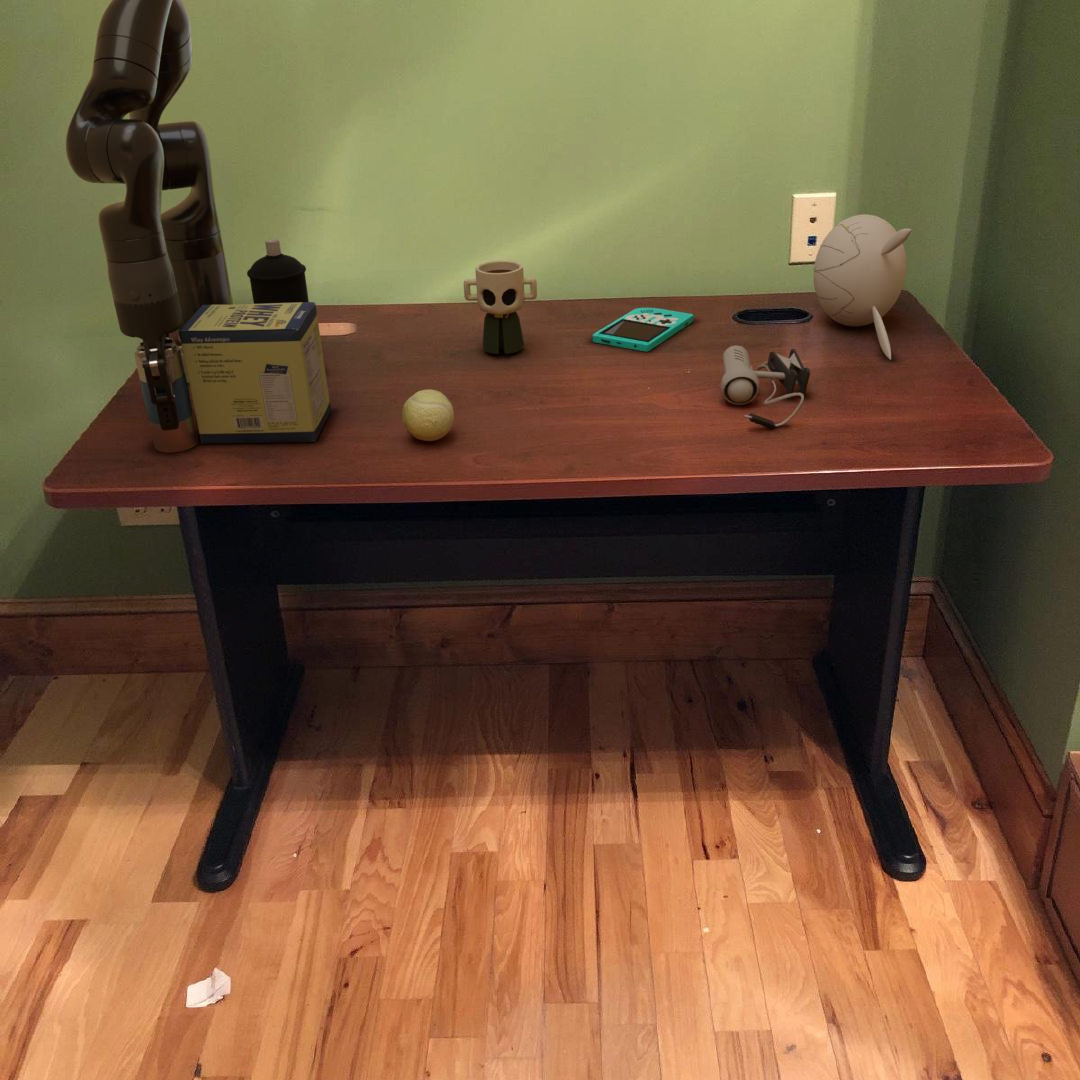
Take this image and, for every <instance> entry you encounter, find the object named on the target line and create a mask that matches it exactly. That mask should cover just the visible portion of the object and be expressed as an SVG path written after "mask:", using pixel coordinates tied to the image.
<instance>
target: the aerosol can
mask: <svg viewBox="0 0 1080 1080" xmlns="http://www.w3.org/2000/svg"><path fill="white" fill-rule="evenodd" d="M280 242H281V241H280V239H278V238H268V239H266V240H264V244H265V251H266V255H265V256H262V257H260V258H259V259H257V260H255V262H253V264H252V265H251V267H250V268H249V269H248V270H247V271H246V276H247V277H248V278H249V283H250V289H251V295H252V301H253V304H269V303H300V302H310V301H309V293H308V286H307V280H306V279H307V278H306V271H307V267H306V265H304V264H303V263H301V261H300V260H298V259H297V258H295V257H294V256H291V255H288V254H283V253H282V249H281V243H280Z"/></svg>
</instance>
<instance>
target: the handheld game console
mask: <svg viewBox="0 0 1080 1080" xmlns="http://www.w3.org/2000/svg"><path fill="white" fill-rule="evenodd" d="M693 322H694V314H693V313H690V312H689V313H688V312H682V311H676V310H669V309H664V308H657V307H637V308H634V309H632V310H631V311H629V312H628V313H626V314H624V315H622V316H621V317H619V318H617V319H616V320H614V321H613V322H611V323H609V324H608V325H606V326H604V327H603V328H601V329H599V330H598V331H596V332H594V333H593V334H592V342H593V343H597V344H601V345H607V346H611V347H618V348H625V349H629V350H634V351H639V352H645V353H647V352H650V351H652V350H654V348H656V347H657V346H659V345H661V344H662V343H663V342H665V341H666V340H669V338H671V337H672V336H674V335H675V334H677V333H678V332H680V331H681V330H683V329H684V328H685V327H688V326H689V325H690V324H692V323H693Z"/></svg>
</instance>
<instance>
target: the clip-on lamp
mask: <svg viewBox="0 0 1080 1080" xmlns="http://www.w3.org/2000/svg"><path fill="white" fill-rule="evenodd" d="M722 366H723V375H722V378H721V381H720V391H721V395H722V396H723V399H724V400H726V401H727V402H728V403H731V404H732V405H737V406H740V405H741V406H742V405H746V404H748V403H751V402H752V401H754V399H756V397H757V395H758V393H759V391H760V380H759V379H768V380H769V381H770V383H771V385H772V386H773V388H774V389H773V392H772V393H771V395H770V396H769V397H768V398H766V399H765V400H764V402H763V406H769V405H771V404H774V403H776V402H780V401H783V400H785V399H787V400H792V399H793V397H800V401H799V403H798V405H797V406H796V408H795V409H794V411H792V413H791V414H790V415H789V416H788V417H787V418H786V419H784V420H783V421H782V422H779V423H775V422H774V420H771V419H769V418H766V417H763V416H761V415H758V414H755V413H752V412H750V413H749V414H748V415H747V414H744V416H743V418H747V419H749V422H751V423H754V424H755V425H760V426H761V427H765V428H767V429H771V430H773V429H774V428H775V427H776V428H777V427H780V426H783V425H784V424H786V423H788V422H789V421H790V420H791V419H792V418H793V417H794V416H795V415H796V413H797V412H798V411H799V409H800V408H801V406H802V405H803V404H804V400H805V395H806V391H807V387H808V383H809V380H810V376H811V370H810V369H809V367H805V366H804V365H803V362H802V360H801V358H800V356H799V354H798V352H797V350H796V348H791V349H790V351H789V355H788V357H786V356H784V355H782V354H781V355H780V354H778V353H777V352H775V351H770V352H769V356H768V359H767V361H764V362H762V363H761V364H760V365H758V366H757V367H756V368H757V370H754V369H753V365H751V359H750V354H749V352H748V351H747V349H746V348H745V347H744V346H741V345H732V346H729V347H728V348H726V349H725V350H724V352H723V353H722ZM762 369H765V370H762ZM774 380H778V382H779V383H780V384H781V386H782V387H783V388H784V389H785V393H784V395H781V396H778V397H776V398H775V397H774V396H775V395H776V392H777V385H776V383H775V381H774ZM796 384H797V386H798V392H794V391H795V388H796Z"/></svg>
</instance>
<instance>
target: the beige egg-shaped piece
mask: <svg viewBox="0 0 1080 1080" xmlns="http://www.w3.org/2000/svg"><path fill="white" fill-rule="evenodd" d="M912 231H913V230H912V229H911V228H902V229H899V230H898V231H897V230H896V228H895V227H893V226H892V224H890V222H889V221H887V220H885V219H884V218H882V217H880V216H877V215H874V214H857V215H852V216H849V217H847V218H845V219H843V220H841V221H840V222H839V223H838V224H836V225H835V226H834V227H833V228H831V230H830V231H829V232H828V233H827V235H826V236H825V237H824V239H823V240H822V243H821V244H820V245H819V247H818V251H817V254H816V257H815V259H814V265H813V289H814V292H815V295H816V298H817V302H818V303H819V305H820V307H821V309H822V310H823V311H824V312H825V314H826V315H827V316H828V317H830V318H831V319H832V320H833V321H835V322H836V323H838V324H841V325H843V326H846V327H853V328H854V327H864V326H868V325H870V324H872V323H874V327H875V331H876V337H877V339H878V343H879V347H880V349H881V350H882V351H881V352H883V354H884V356H885V357H886V358H887V359H888V360H890V361H891V360H892V349H891V343H890V339H889V336H888V333H887V330H886V326H885V325H884V322H883V317H884V316H885V315H886V314H887V313H889V311H890V310H891V309H892V308H893V306H894V305H895V304H896V302H897V301H898V299H899V297H900V295H901V293H902V290H903V288H904V285H905V282H906V275H907V269H908V268H907V264H908V263H907V261H908V260H907V254H906V249H905V246H904V242H906V241H907V240H908V238H909V237H910V235H911V233H912Z"/></svg>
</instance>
